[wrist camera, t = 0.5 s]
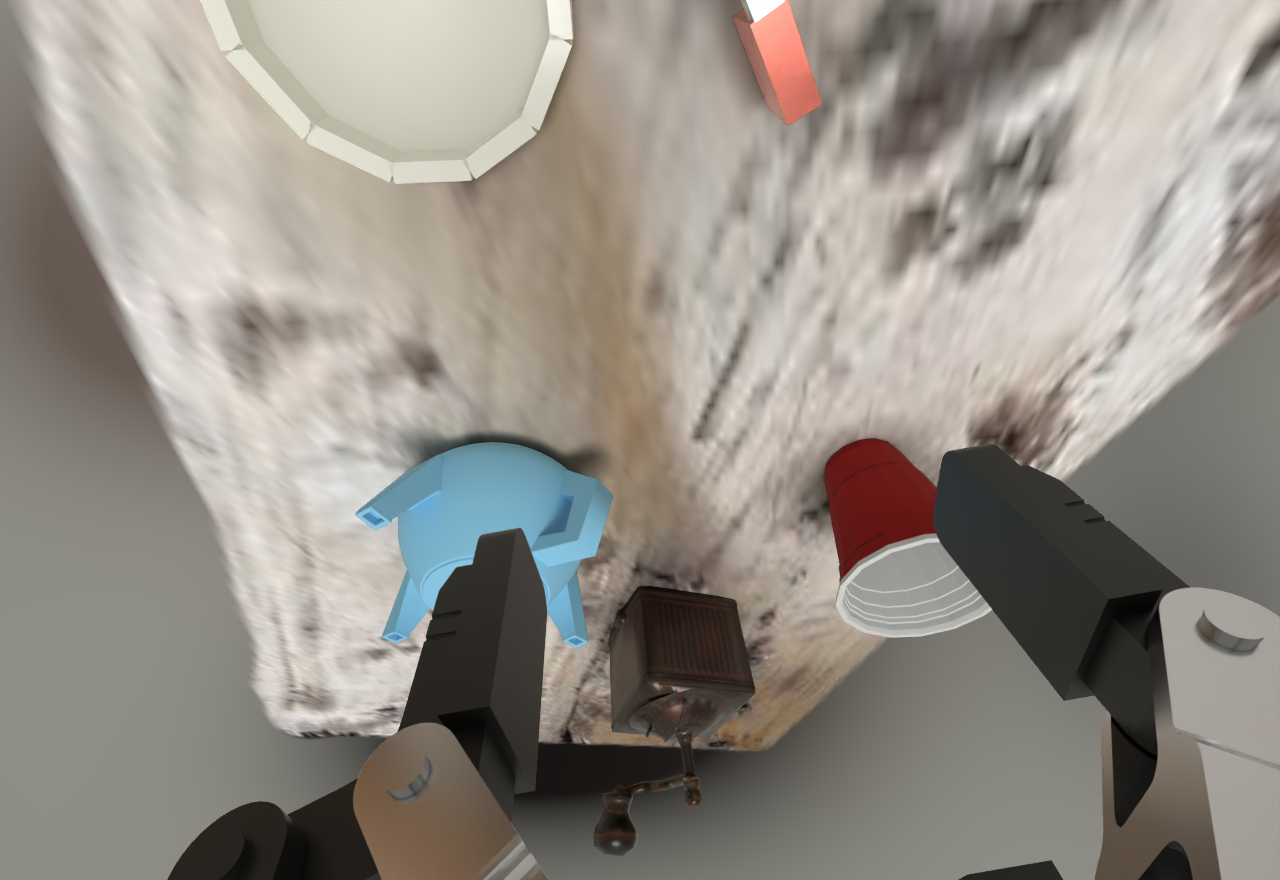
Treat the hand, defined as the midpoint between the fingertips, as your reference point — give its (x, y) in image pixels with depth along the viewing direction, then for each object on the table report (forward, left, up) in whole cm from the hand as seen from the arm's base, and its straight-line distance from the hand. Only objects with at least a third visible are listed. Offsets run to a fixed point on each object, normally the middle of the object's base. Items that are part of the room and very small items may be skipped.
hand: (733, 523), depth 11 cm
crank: (-4, +7, -23) cm, 24 cm away
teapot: (+15, -22, -24) cm, 36 cm away
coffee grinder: (+40, -22, -24) cm, 51 cm away
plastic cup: (+28, +3, -24) cm, 37 cm away
